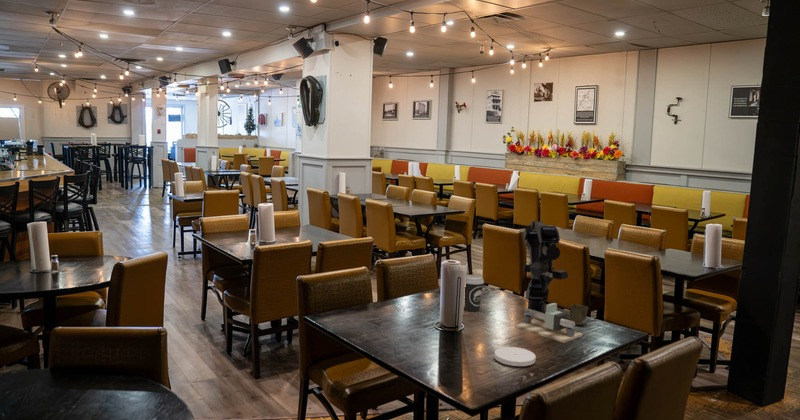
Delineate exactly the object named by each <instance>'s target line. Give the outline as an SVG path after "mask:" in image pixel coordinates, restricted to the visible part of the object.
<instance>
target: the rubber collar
mask: <svg viewBox="0 0 800 420" xmlns="http://www.w3.org/2000/svg"><path fill="white" fill-rule="evenodd" d="M561 312H562V313H559V314H556V315H554V325H553V330H556V331H559V330H562V329H565V328H566V329H567V327H563V326H560V318H563V319H567V318H568V313H567V312H563V311H561ZM567 320H568V319H567Z"/></svg>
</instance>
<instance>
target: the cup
mask: <svg viewBox="0 0 800 420" xmlns="http://www.w3.org/2000/svg"><path fill="white" fill-rule="evenodd" d="M588 311H589V306H587V305H584V304H579V303H577V304H575V303H573V304H572V303H571V304H570V305H569V315H570V316H569V317H570V320H571V321H574V322H575V326H578V327H579V326H582V325H583V322H584V321H585V320H586V318H587V314H588Z"/></svg>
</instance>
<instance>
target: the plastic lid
mask: <svg viewBox="0 0 800 420" xmlns="http://www.w3.org/2000/svg"><path fill="white" fill-rule="evenodd" d="M493 357H494V359H495V360H496V361H497V362H499V363H501V364H503V365H508V366H513V367H529V366H531V365H534V364H535V363H536V357H537V355H536V354H535V353H534V352H533V351H530V350H529V349H527V348H523V347H515V346H504V347H500V348H497V349H495V351H494V356H493Z"/></svg>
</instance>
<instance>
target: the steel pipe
mask: <svg viewBox="0 0 800 420" xmlns="http://www.w3.org/2000/svg"><path fill="white" fill-rule="evenodd" d="M532 318H533V319H535V320H539V321H542V322H545V313H542V312H539V311H535V310H531V309H528V307H526V308H525V309H524V311H523V322H524V323H526V324H529V323H531V320H532ZM560 326H563V327H566V329H567V330H566V336H569V337H572V336H574V331H575V327H576V325H575V322H574V321H573V320H571V319H563V318H560Z"/></svg>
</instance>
